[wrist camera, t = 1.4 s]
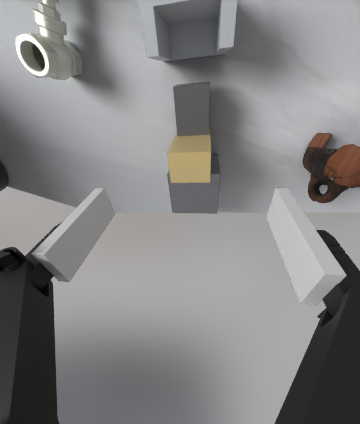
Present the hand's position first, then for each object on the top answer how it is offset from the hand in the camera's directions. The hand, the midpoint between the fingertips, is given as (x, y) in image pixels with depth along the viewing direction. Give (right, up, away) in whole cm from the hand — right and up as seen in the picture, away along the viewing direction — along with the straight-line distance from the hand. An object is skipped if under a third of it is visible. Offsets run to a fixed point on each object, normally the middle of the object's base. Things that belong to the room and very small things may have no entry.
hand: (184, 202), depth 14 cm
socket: (+1, +21, +7) cm, 22 cm away
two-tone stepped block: (+2, +9, +13) cm, 16 cm away
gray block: (+3, +6, +18) cm, 19 cm away
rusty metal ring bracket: (+24, +8, +14) cm, 29 cm away
